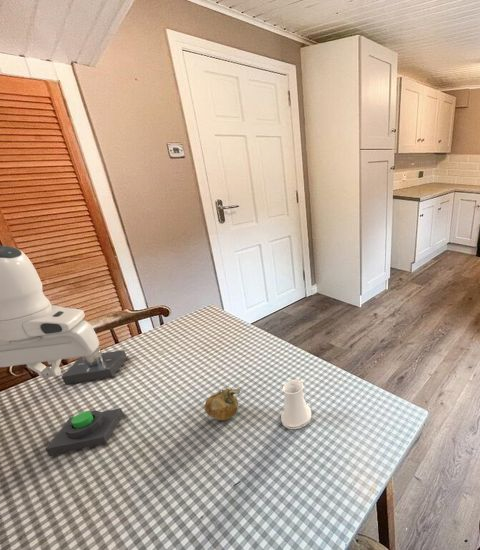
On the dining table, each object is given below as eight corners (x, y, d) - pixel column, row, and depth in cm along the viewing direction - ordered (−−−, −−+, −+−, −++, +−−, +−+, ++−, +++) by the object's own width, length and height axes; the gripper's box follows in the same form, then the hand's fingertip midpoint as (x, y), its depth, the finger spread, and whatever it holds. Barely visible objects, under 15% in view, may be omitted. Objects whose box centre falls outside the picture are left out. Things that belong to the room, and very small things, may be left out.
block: (49, 455, 68) (41, 443, 67) (72, 424, 76) (66, 412, 75) (106, 443, 71) (100, 431, 69) (123, 414, 79) (118, 402, 77)
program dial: (99, 365, 93) (94, 353, 91) (82, 368, 91) (77, 356, 90) (106, 356, 96) (102, 345, 95) (90, 359, 95) (85, 347, 94)
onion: (223, 400, 83) (217, 377, 80) (247, 408, 81) (242, 384, 78) (201, 421, 77) (194, 397, 74) (226, 430, 74) (220, 405, 71)
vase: (317, 412, 79) (314, 382, 76) (298, 434, 73) (294, 402, 69) (295, 402, 83) (291, 372, 79) (275, 422, 76) (270, 391, 73)
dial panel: (65, 384, 89) (61, 376, 88) (84, 363, 98) (80, 355, 97) (112, 377, 92) (109, 368, 91) (127, 357, 101) (124, 349, 100)
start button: (70, 430, 70) (67, 424, 69) (79, 418, 73) (76, 412, 73) (88, 426, 71) (86, 421, 70) (96, 415, 74) (94, 409, 74)
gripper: (-54, 337, 58) (-20, 393, 63) (75, 323, 63) (97, 376, 68) (-25, 321, 63) (4, 374, 68) (91, 309, 69) (110, 359, 74)
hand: (51, 375), depth 68 cm, fingers closed
